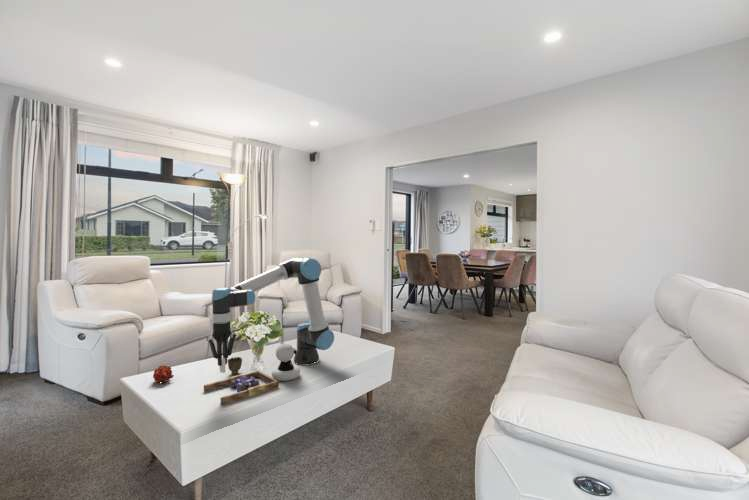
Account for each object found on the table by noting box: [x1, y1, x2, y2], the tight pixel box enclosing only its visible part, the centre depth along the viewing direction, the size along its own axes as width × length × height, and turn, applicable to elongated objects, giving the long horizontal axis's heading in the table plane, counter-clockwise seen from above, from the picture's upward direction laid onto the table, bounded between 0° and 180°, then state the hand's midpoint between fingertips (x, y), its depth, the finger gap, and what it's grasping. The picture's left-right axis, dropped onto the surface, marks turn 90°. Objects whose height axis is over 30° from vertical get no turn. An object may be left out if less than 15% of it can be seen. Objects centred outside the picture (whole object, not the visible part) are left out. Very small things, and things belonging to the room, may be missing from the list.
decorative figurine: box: [271, 338, 301, 382], centre depth 187 cm, size 15×15×20 cm
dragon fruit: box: [152, 365, 175, 385], centre depth 178 cm, size 8×8×12 cm
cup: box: [227, 356, 243, 375], centre depth 191 cm, size 8×7×8 cm
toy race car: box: [228, 376, 261, 393], centre depth 172 cm, size 10×15×6 cm, turn 48°
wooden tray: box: [203, 370, 280, 406], centre depth 170 cm, size 28×20×3 cm
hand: (222, 371), depth 163 cm, fingers closed
